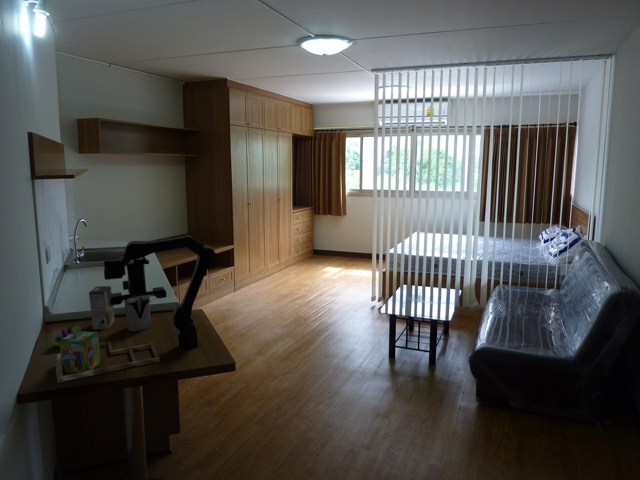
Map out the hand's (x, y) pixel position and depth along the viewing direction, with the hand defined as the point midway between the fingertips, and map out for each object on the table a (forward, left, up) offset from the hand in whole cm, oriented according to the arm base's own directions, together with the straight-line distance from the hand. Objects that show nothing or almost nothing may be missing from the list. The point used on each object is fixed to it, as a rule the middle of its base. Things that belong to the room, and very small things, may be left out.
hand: (140, 318), depth 172 cm
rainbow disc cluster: (+24, -21, -13) cm, 35 cm away
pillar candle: (-2, -28, -13) cm, 31 cm away
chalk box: (+20, +3, -13) cm, 24 cm away
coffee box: (+11, -38, -13) cm, 42 cm away
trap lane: (+12, -1, -13) cm, 18 cm away
